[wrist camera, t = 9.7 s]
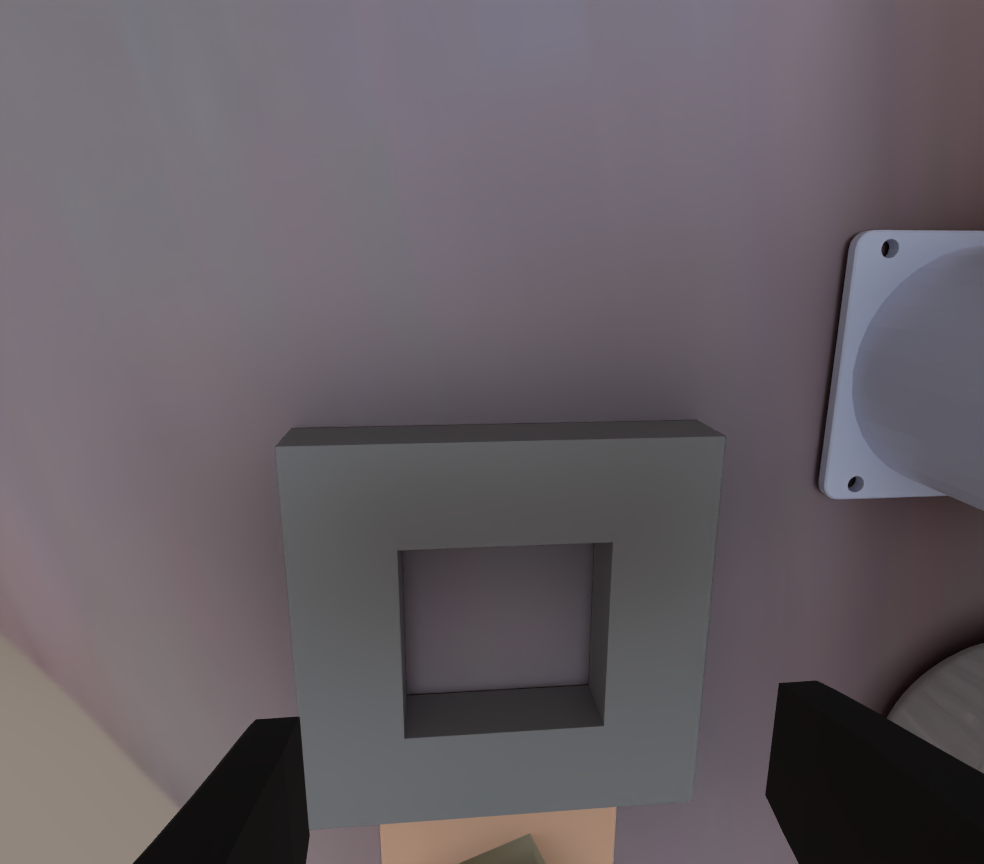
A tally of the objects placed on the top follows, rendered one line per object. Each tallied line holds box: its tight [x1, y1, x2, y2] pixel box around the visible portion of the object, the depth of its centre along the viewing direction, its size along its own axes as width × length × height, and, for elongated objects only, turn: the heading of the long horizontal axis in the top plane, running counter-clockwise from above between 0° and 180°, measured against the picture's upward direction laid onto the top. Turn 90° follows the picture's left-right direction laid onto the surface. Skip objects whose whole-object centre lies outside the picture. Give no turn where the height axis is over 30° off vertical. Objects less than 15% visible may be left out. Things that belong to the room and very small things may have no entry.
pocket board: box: [275, 420, 726, 830], centre depth 19 cm, size 12×12×2 cm
